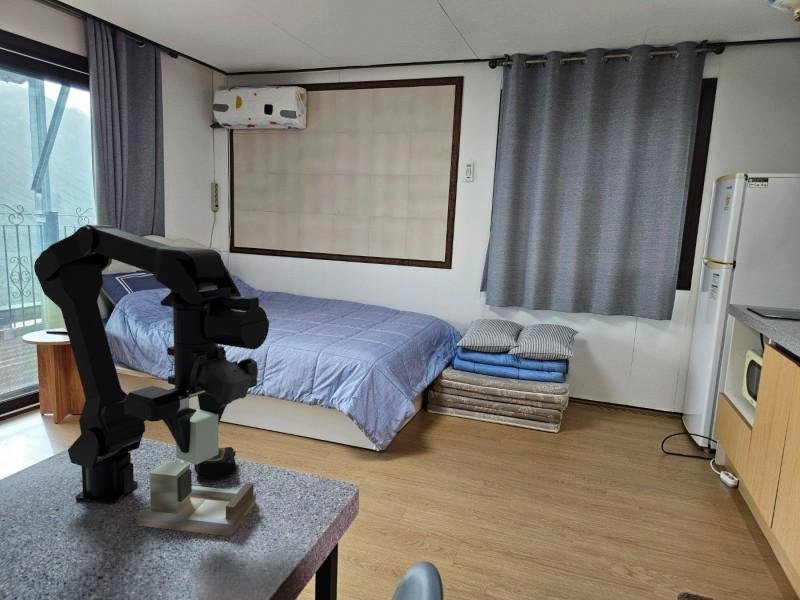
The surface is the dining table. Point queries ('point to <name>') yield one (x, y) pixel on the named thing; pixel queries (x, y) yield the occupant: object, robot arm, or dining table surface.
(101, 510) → the dining table surface
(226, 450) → the tape measure
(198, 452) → the block
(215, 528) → the open tray
